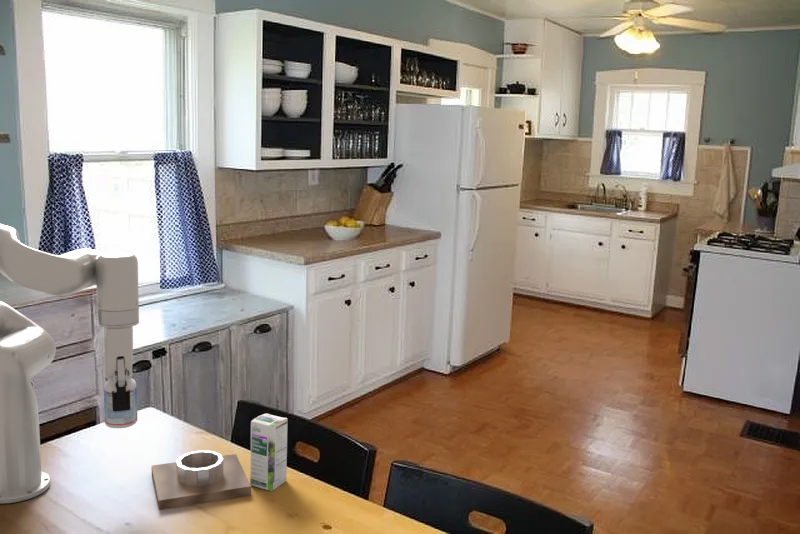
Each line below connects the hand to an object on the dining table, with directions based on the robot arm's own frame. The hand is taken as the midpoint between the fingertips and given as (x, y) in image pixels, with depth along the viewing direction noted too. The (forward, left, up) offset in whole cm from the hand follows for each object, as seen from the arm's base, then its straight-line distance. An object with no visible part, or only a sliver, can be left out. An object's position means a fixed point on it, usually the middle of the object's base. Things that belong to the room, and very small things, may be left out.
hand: (120, 403), depth 144 cm
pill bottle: (0, 0, -4) cm, 4 cm away
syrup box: (+29, -5, -20) cm, 35 cm away
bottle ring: (+15, -1, -17) cm, 23 cm away
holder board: (+15, -1, -19) cm, 25 cm away
